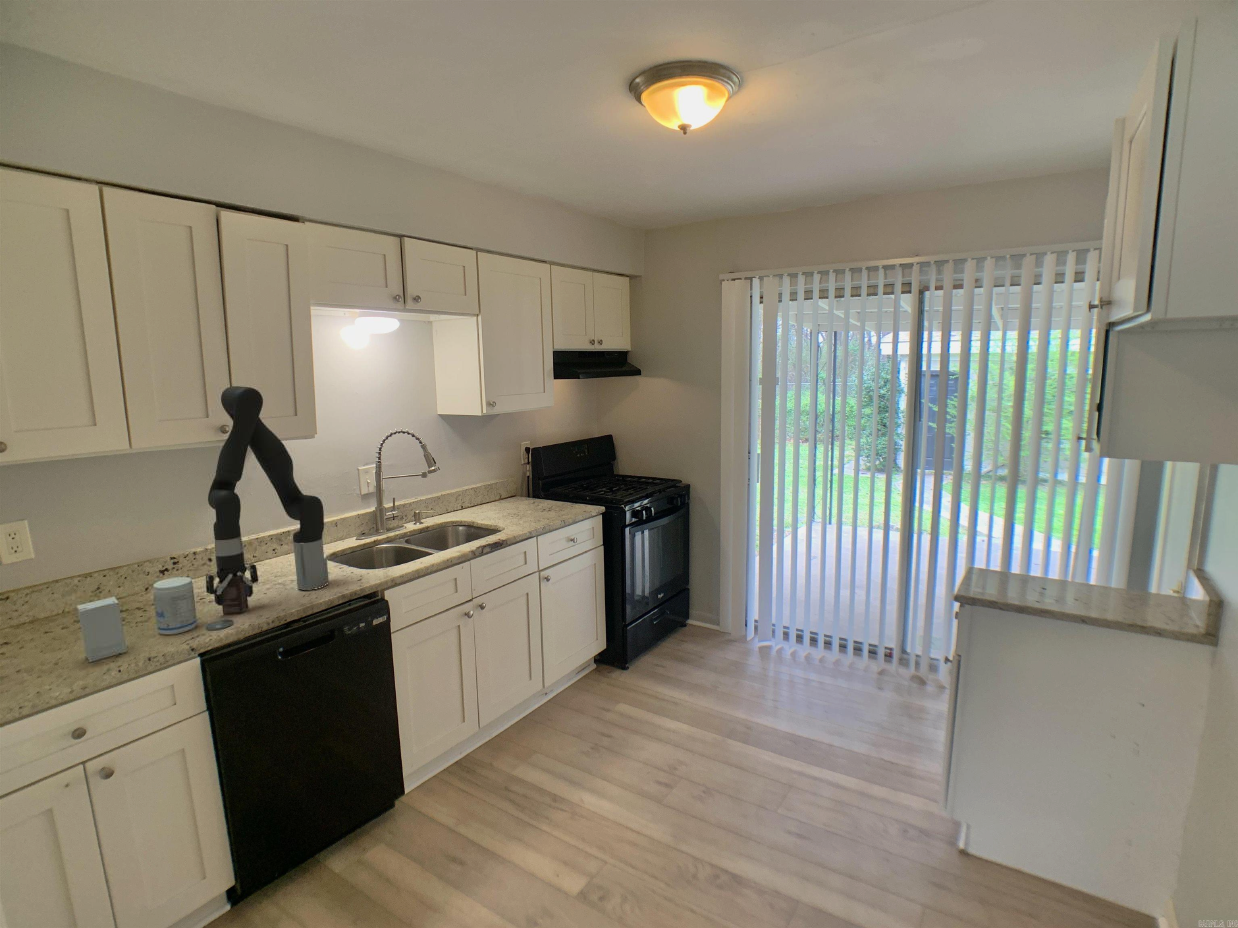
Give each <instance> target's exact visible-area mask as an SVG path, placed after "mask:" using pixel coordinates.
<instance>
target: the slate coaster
mask: <svg viewBox="0 0 1238 928" xmlns="http://www.w3.org/2000/svg"><path fill="white" fill-rule="evenodd" d="M232 624H233V625H234V620H233V619H226V618H225V619H218V620H215V621H212V622H209V623H208V624H206V625H205V630H206V631H212V632H213V631H221V630H225V629H227V627H228V628H230V627H232V626H233V625H232ZM231 625H232V626H231ZM229 626H230V627H229ZM224 628H225V629H224ZM220 629H221V630H220Z"/></svg>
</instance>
